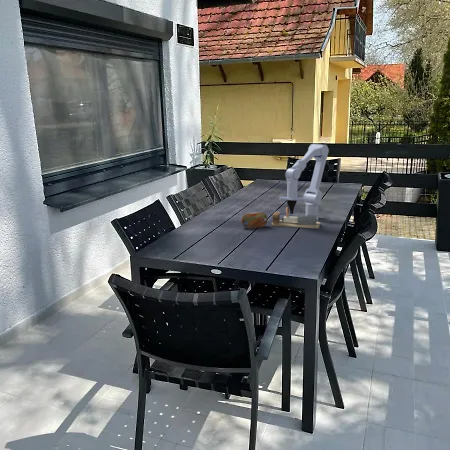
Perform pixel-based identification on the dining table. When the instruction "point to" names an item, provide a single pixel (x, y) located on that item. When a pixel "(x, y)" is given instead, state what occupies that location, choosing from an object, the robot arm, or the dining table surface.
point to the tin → (254, 220)
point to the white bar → (289, 217)
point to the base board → (295, 224)
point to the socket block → (276, 217)
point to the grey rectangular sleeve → (306, 219)
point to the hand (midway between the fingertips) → (291, 213)
